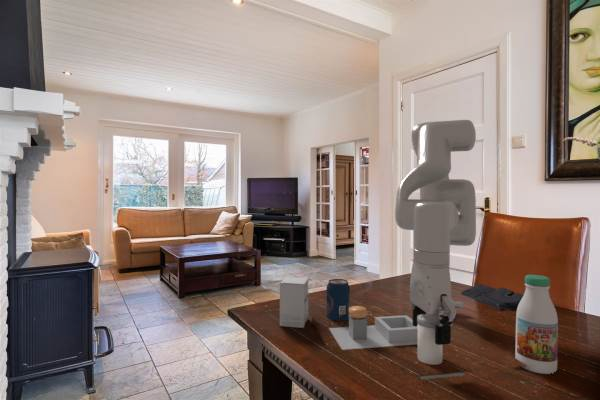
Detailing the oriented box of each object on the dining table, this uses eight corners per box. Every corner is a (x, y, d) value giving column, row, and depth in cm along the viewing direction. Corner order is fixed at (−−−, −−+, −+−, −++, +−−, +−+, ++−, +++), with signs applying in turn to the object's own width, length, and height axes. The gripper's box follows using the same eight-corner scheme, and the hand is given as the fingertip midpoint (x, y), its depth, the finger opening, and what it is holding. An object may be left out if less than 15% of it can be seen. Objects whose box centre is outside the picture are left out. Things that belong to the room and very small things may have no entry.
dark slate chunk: (490, 291, 137) (490, 279, 137) (542, 309, 116) (542, 295, 116) (457, 294, 133) (457, 281, 133) (504, 313, 112) (504, 299, 112)
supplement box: (304, 328, 99) (304, 284, 98) (278, 326, 100) (278, 282, 100) (308, 319, 106) (309, 277, 106) (285, 317, 108) (285, 276, 107)
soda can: (323, 318, 107) (323, 279, 106) (344, 316, 109) (344, 277, 108) (330, 326, 100) (331, 285, 100) (353, 324, 102) (353, 283, 101)
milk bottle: (507, 358, 81) (508, 272, 81) (538, 357, 82) (540, 272, 81) (532, 376, 73) (533, 281, 73) (566, 374, 74) (568, 280, 74)
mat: (438, 353, 84) (438, 351, 84) (464, 375, 74) (464, 372, 74) (398, 356, 82) (398, 354, 82) (420, 379, 72) (420, 376, 72)
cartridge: (434, 355, 81) (434, 313, 81) (447, 367, 76) (448, 321, 75) (412, 357, 80) (412, 314, 80) (424, 369, 75) (425, 323, 75)
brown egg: (363, 326, 92) (363, 305, 92) (368, 333, 88) (369, 311, 88) (346, 327, 91) (346, 306, 91) (352, 334, 87) (352, 312, 87)
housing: (411, 328, 99) (411, 305, 99) (436, 348, 86) (436, 322, 86) (328, 333, 95) (328, 309, 95) (342, 356, 82) (342, 328, 82)
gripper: (397, 251, 85) (397, 320, 86) (437, 267, 68) (435, 353, 69) (426, 250, 86) (425, 318, 87) (471, 265, 69) (470, 350, 70)
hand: (430, 334), depth 78 cm, fingers open, 9 cm apart
